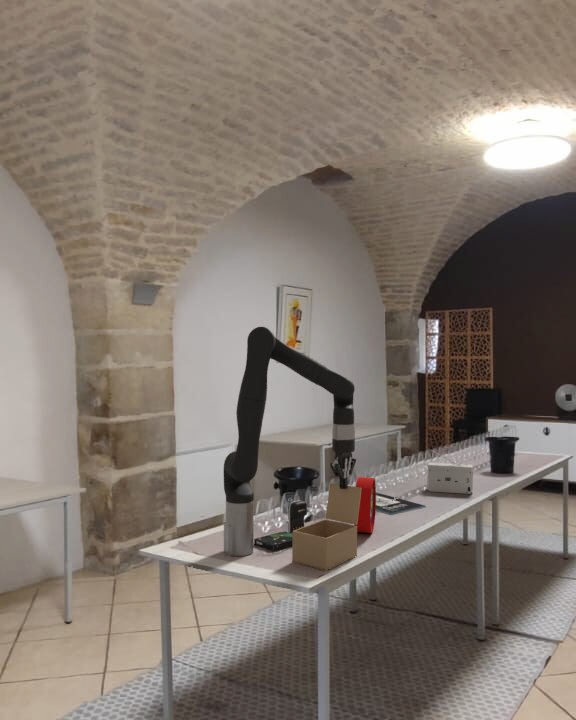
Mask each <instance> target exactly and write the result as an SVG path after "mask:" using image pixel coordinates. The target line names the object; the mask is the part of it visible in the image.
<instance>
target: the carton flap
mask: <svg viewBox="0 0 576 720" xmlns="http://www.w3.org/2000/svg"><path fill="white" fill-rule="evenodd" d="M361 490H362V488H359V487H356V486H352V485H347V489H340V486H339V483H333V482H329V489H328V496H327V497H328V498H327V504H326V512H325V520H330V521H335V522H340V523H345V524H350V525H354V524H355V525H357V523H358V515H359V506H360V498H361Z"/></svg>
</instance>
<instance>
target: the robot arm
mask: <svg viewBox="0 0 576 720" xmlns="http://www.w3.org/2000/svg"><path fill="white" fill-rule="evenodd" d="M246 342H247V343H246V344H247V345H246V346H247V348H246V361H245V369H244V372H243V376H242V380H241V383H240V389H239V393H238V398H237V404H236V411H235V413H236V414H235V415H236V424H237V434H238V440H237V446H236V450H235V451H232V452H230V453H229V454H227V456H226V457H225V459H224V462H223V463H224V464H223V490H224V494H225V522H223V551H224V552H225V554H226V555H227V556H234V557H238V556H239V557H243V556H249V555H251V554H253V553H254V514H255V511H254V507H255V505H254V504H255V499H254V497H255V496H254V495H255V494H254V491H253V489H252V486H251V483H250V481H252V480H253V479H254V478H255V476H256V474H257V471H258V464H259V448H260V447H259V446H260V438H261V433H262V428H263V420H264V416H265V409H266V404H267V403H266V402H267V394H268V370H269V364H270V360H274V361H275V362H278V363H280V364H281V365H283V366H285V367H287V368H288V369H290V370H292V371H293V372H294V373H296V374H297V375H299V376H301V377H302V378H304V379H306V380H308V381H310V382H311V383H313V384H314V385H316V386H319V387H321V388H322V389H324V390H326V391H327V392H329V393H330V394H331V395H333V396H332V397H333V413H332V414H333V415H332V432H331V433H332V435H331V436H332V439H331V444H332V445H331V446H332V448H331V449H332V451H333V452H334V453H335V455H334V461H333V462H330V468H331V470H332V472H333V474H334V476H335V477H336V478H337V477H338V478H339V483H338V484H339V486H340V489H347V486H349V485H348V482H349V481H348V478H349V477H350V475H352V473H353V470H354V468H355V465H356V462H357V458H353V453H354V452H355V449H356V445H355V444H356V443H355V442H356V430H355V411H354V394H355V391H356V390H355V384H354V382H353V381H352V379H350V377H349V378H348V377H346V376H343V375H341V374H340V373H338V372H336V371H333V370H332V369H331V368H330V367H328V366H327V365H325V364H323V363H322V362H320V361H318V360H317V359H314V358H313V357H311V356H310V355H306V354H304V353H302V352H301V351H298V350H296V349H294V348H292V347H290V346H288V345H286V344H285V343H284V342H282V341H281V340H280V339H279V338H278V337H276V336H275V334H274V332H273V331H272V330H271V329H270V328H268V327H266V326H258V327H255V328H253V329H252V330H251V331H250V332H249V334H248V335H247V341H246Z"/></svg>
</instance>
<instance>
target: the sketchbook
mask: <svg viewBox="0 0 576 720" xmlns="http://www.w3.org/2000/svg"><path fill="white" fill-rule="evenodd" d="M392 499H394V496H392V495H391V496H390V495H387V494H383V493H380V492H377V491H376V512H378V513H379V512H380V513H384V514H387V515H391V516H392V515H397V514H401V513H406V512H411V511H416V510H419V509H424V508H426V507H427V506H426V505H425V504H421V503H418V502H414V501H411V500H410V501H409V500H406V499H403V498H399V499H396V500H393V501H392ZM377 505H378V506H377Z"/></svg>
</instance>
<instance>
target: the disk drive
mask: <svg viewBox="0 0 576 720" xmlns="http://www.w3.org/2000/svg"><path fill="white" fill-rule="evenodd" d="M292 542H293V533H289V532H288V531H279V532H276V533H273V534H268V535H264V536H260V537H257V538H253V546H256V547H259V548H262V549H265V550H268V551H271V552H273V553H274V552H278V551H281V550H285V549H289V548H291V547H292Z"/></svg>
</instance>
